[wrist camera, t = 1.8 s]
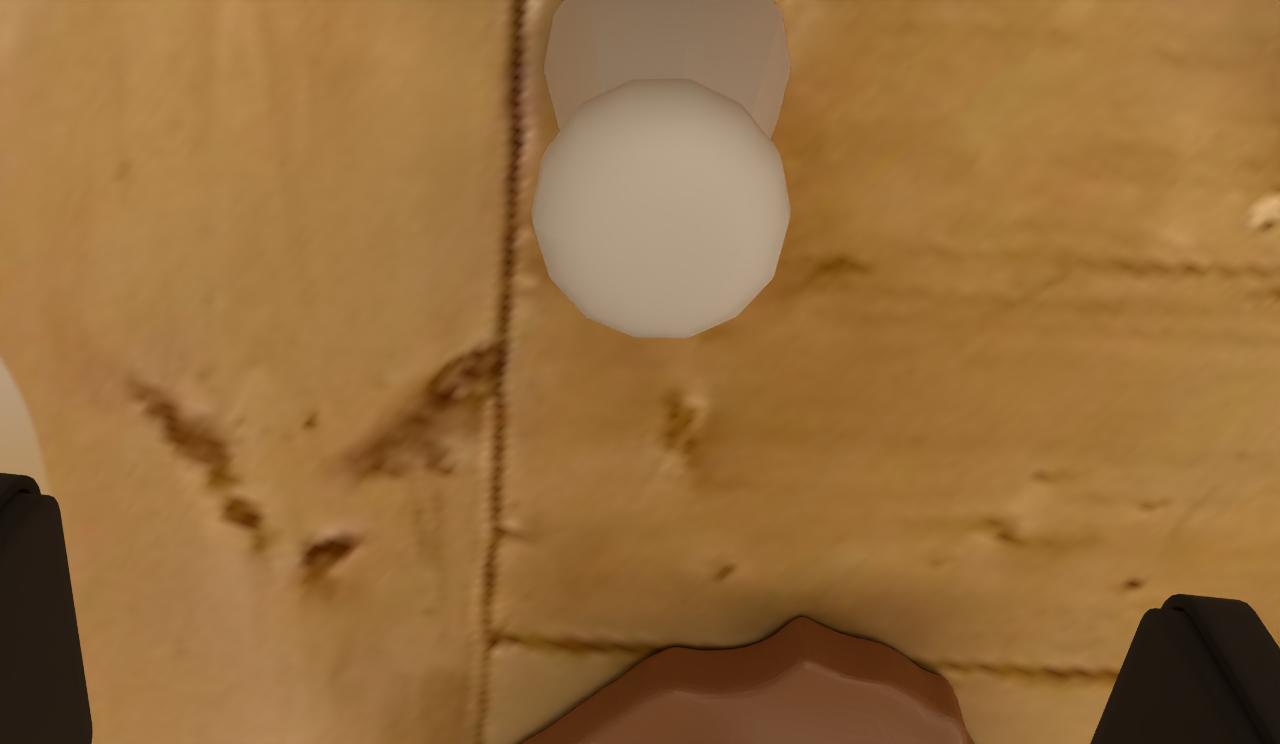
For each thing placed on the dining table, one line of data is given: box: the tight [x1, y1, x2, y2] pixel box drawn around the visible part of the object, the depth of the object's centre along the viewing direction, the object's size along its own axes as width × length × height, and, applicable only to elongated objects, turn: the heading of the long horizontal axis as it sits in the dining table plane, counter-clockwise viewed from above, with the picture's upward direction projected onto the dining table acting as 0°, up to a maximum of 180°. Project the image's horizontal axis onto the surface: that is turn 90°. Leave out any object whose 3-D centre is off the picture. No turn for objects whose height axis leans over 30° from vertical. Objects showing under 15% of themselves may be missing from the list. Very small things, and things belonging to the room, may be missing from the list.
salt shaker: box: [531, 0, 791, 338], centre depth 24 cm, size 6×6×13 cm
